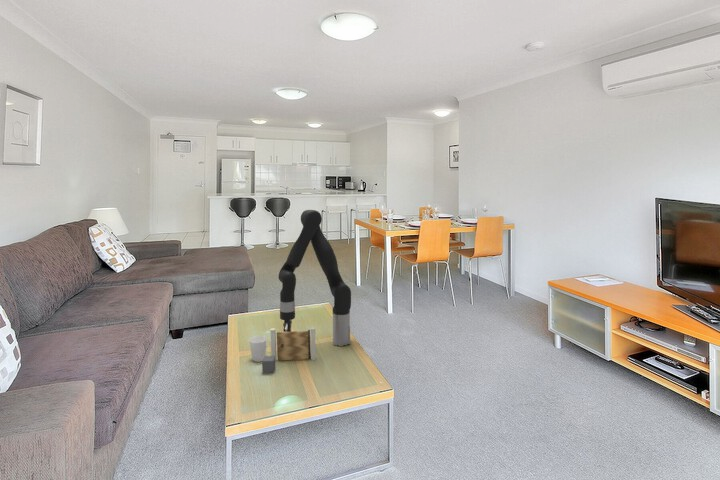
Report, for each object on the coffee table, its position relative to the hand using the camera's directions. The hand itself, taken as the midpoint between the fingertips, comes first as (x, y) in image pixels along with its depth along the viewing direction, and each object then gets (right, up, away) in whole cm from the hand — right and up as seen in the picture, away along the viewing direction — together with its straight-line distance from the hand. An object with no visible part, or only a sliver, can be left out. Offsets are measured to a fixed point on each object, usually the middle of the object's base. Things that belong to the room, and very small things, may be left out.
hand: (287, 341), depth 187 cm
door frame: (+4, -7, -7) cm, 11 cm away
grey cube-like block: (-5, -9, -17) cm, 20 cm away
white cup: (-13, -7, -6) cm, 16 cm away
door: (+4, -7, -7) cm, 11 cm away
